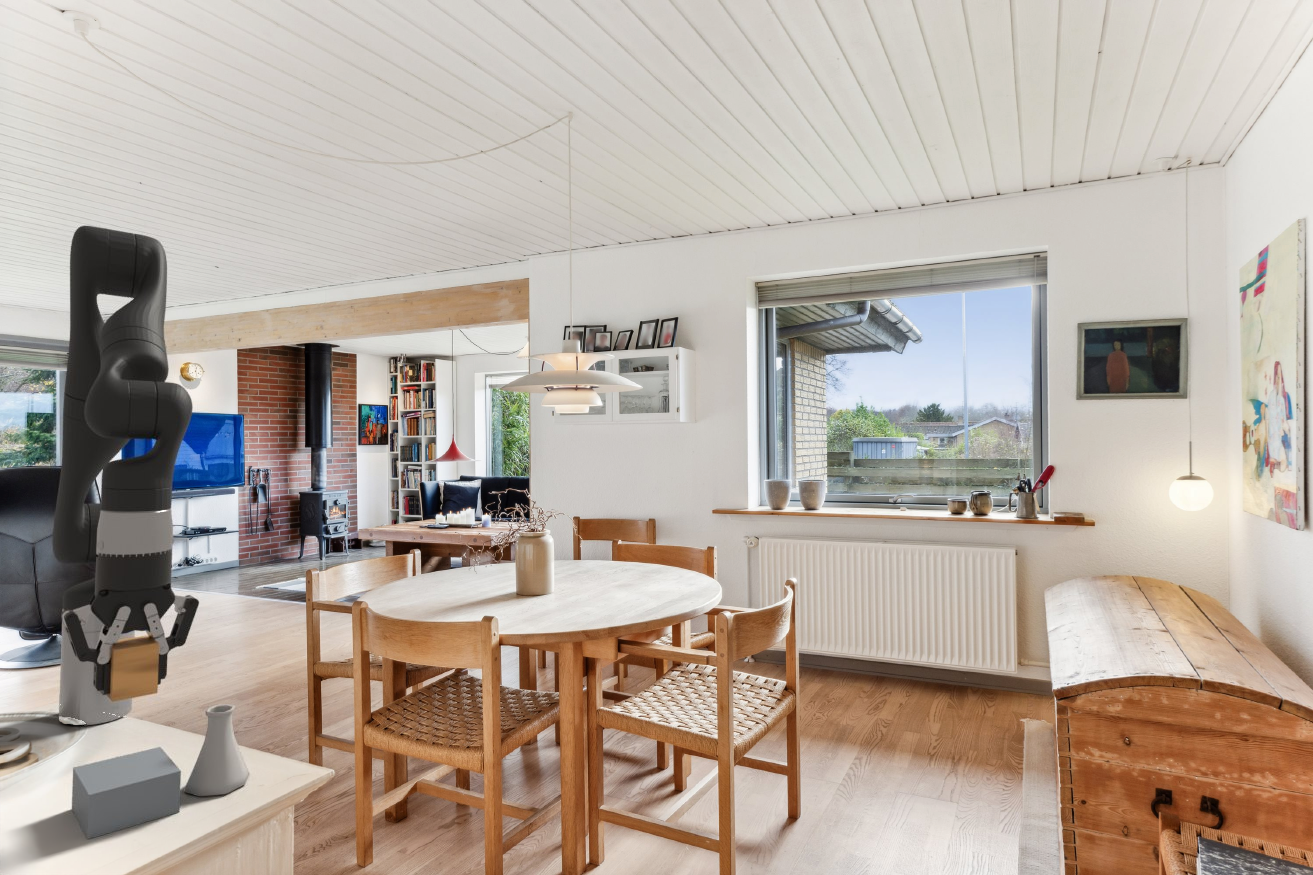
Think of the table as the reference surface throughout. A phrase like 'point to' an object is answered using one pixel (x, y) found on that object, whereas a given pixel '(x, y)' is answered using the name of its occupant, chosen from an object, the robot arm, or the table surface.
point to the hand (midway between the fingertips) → (130, 687)
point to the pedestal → (125, 791)
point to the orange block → (134, 668)
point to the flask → (218, 757)
